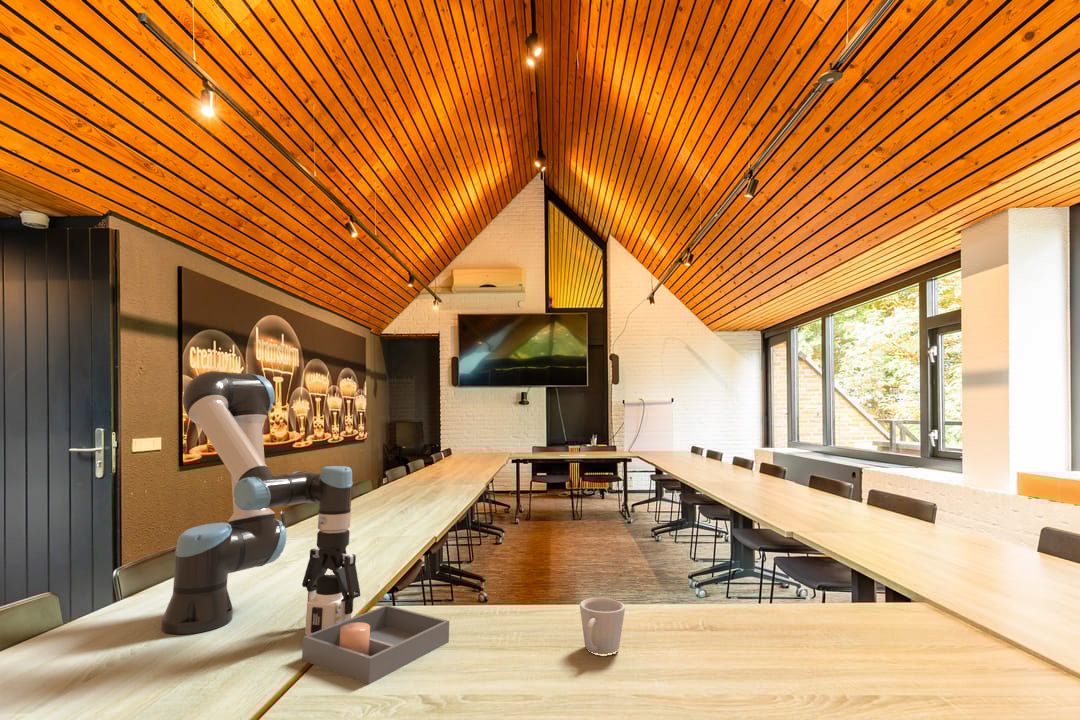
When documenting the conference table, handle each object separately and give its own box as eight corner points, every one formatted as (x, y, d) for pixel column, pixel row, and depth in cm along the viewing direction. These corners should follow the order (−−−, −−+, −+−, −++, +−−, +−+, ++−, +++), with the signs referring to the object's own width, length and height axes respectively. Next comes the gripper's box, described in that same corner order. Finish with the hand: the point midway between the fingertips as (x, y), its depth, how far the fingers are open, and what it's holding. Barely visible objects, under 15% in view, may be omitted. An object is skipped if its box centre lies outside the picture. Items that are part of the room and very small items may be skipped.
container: (333, 638, 131) (336, 581, 133) (304, 635, 133) (307, 579, 134) (351, 626, 139) (353, 572, 140) (323, 623, 141) (326, 570, 142)
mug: (630, 645, 131) (630, 601, 132) (610, 671, 117) (611, 622, 118) (588, 637, 135) (588, 594, 136) (564, 661, 122) (565, 613, 123)
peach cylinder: (332, 664, 116) (334, 629, 117) (354, 653, 122) (356, 620, 122) (352, 671, 113) (354, 635, 114) (374, 660, 119) (376, 626, 119)
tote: (301, 663, 118) (303, 636, 119) (385, 627, 139) (386, 604, 139) (369, 688, 108) (370, 658, 109) (448, 645, 129) (449, 620, 129)
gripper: (290, 526, 141) (284, 617, 139) (354, 538, 129) (349, 637, 127) (315, 522, 147) (310, 609, 145) (378, 532, 136) (374, 627, 134)
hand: (328, 622), depth 136 cm, fingers open, 11 cm apart
